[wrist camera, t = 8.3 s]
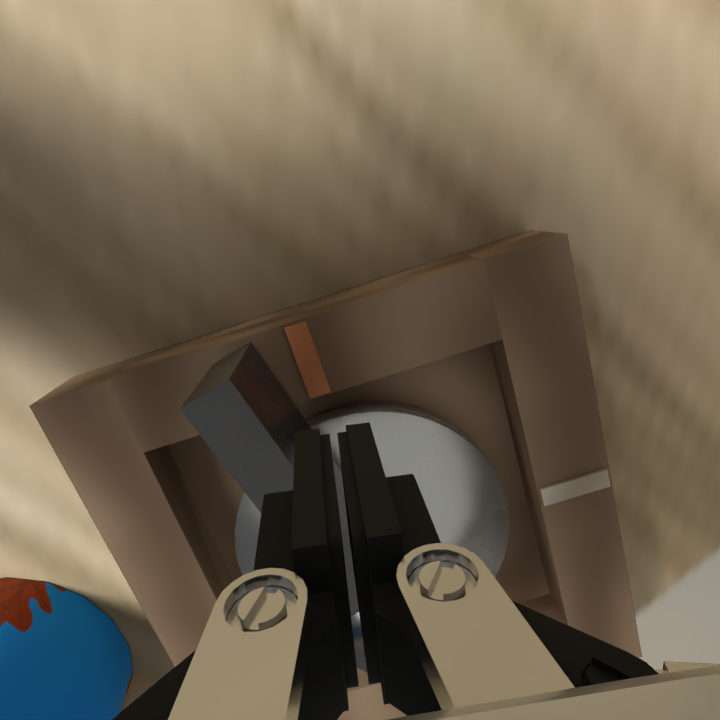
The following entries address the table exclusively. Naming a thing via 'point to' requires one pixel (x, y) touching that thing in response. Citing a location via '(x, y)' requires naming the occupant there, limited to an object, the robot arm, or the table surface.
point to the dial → (395, 447)
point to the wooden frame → (360, 384)
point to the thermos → (58, 655)
